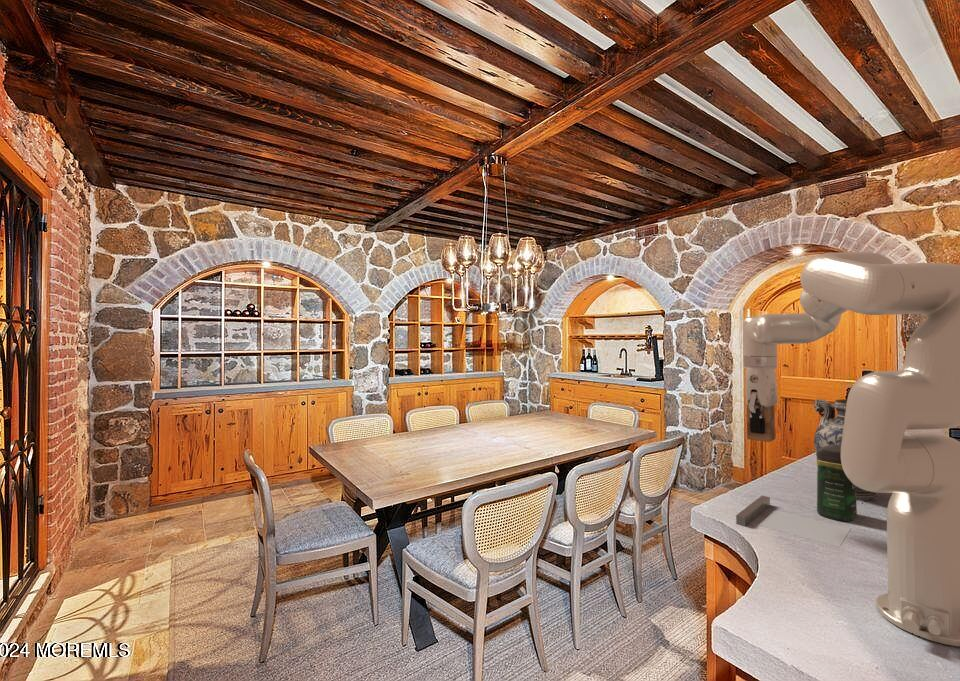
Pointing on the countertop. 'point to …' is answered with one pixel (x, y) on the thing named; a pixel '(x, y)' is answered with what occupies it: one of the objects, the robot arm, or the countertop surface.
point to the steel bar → (752, 511)
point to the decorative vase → (834, 433)
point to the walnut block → (769, 425)
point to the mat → (806, 528)
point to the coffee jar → (834, 486)
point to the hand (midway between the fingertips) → (761, 430)
